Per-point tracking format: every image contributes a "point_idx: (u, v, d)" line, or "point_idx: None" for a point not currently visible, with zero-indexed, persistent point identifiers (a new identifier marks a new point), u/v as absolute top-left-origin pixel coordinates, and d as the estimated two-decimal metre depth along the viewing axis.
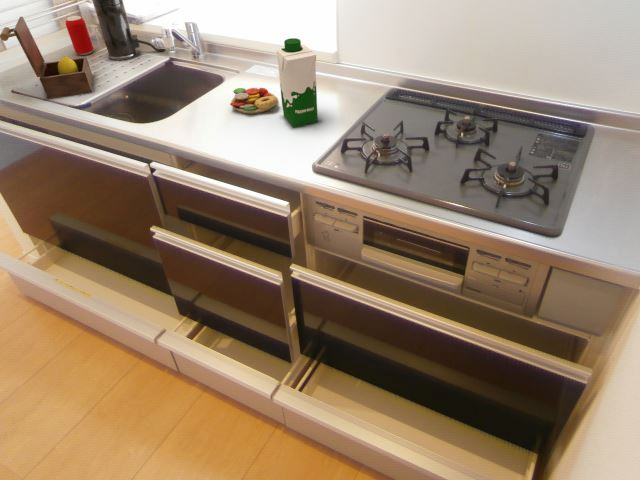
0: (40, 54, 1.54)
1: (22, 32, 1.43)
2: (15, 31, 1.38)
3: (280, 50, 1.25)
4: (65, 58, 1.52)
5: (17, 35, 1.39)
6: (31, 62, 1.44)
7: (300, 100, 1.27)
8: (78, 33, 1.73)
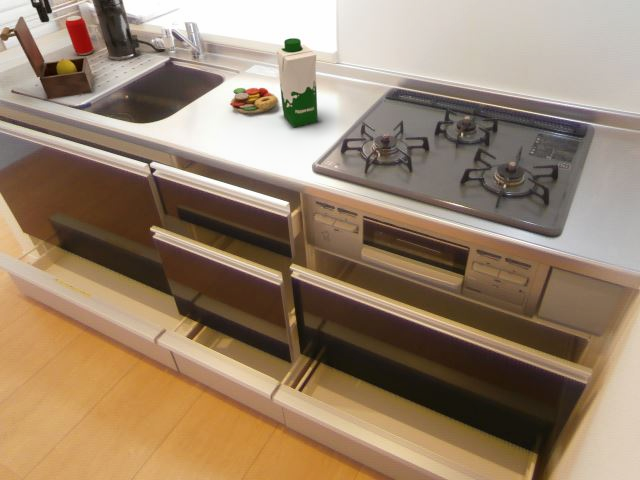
0: (40, 54, 1.54)
1: (22, 32, 1.43)
2: (15, 31, 1.38)
3: (280, 50, 1.25)
4: (63, 61, 1.51)
5: (17, 35, 1.39)
6: (31, 62, 1.44)
7: (300, 100, 1.27)
8: (78, 33, 1.73)
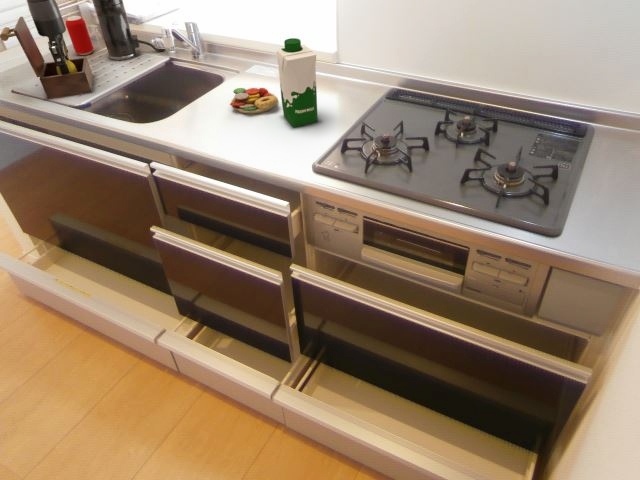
0: (40, 54, 1.54)
1: (22, 32, 1.43)
2: (15, 31, 1.38)
3: (280, 50, 1.25)
4: None
5: (17, 35, 1.39)
6: (31, 62, 1.44)
7: (300, 100, 1.27)
8: (78, 33, 1.73)
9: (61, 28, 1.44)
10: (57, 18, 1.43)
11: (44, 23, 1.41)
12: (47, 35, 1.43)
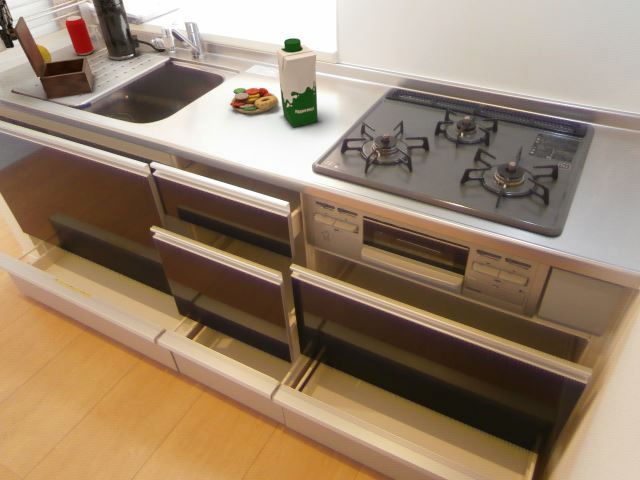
0: (40, 54, 1.54)
1: (22, 32, 1.43)
2: (15, 31, 1.38)
3: (280, 50, 1.25)
4: (37, 46, 1.64)
5: (17, 35, 1.39)
6: (31, 62, 1.44)
7: (300, 100, 1.27)
8: (78, 33, 1.73)
9: None
10: None
11: None
12: None
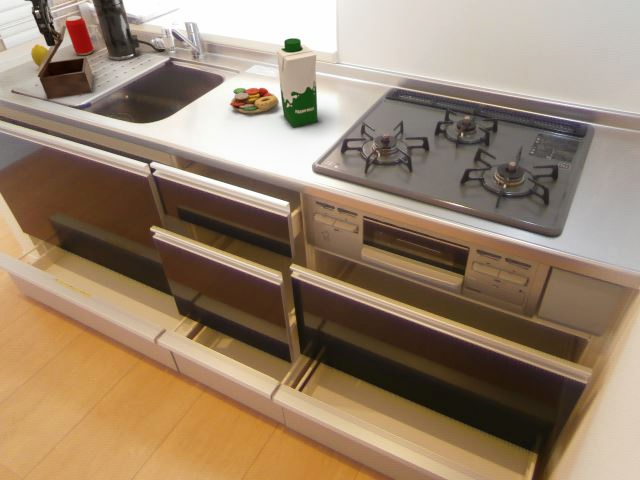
0: None
1: None
2: (61, 40, 1.43)
3: (280, 50, 1.25)
4: (37, 46, 1.64)
5: (59, 43, 1.43)
6: (46, 65, 1.45)
7: (300, 100, 1.27)
8: (78, 33, 1.73)
9: None
10: None
11: None
12: None
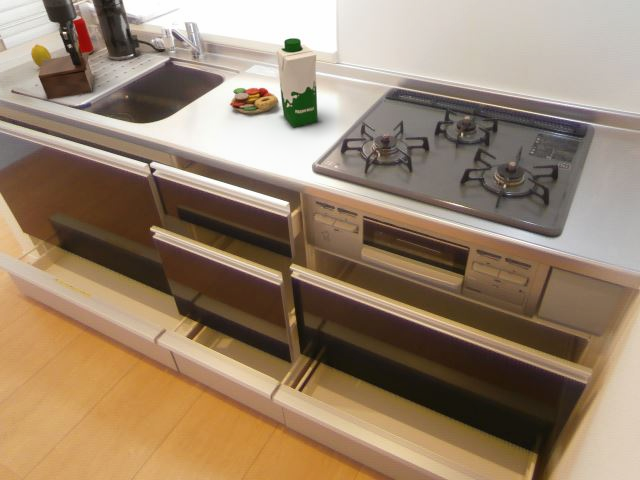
0: None
1: None
2: (85, 68, 1.49)
3: (280, 50, 1.25)
4: (37, 46, 1.64)
5: (81, 69, 1.49)
6: (54, 74, 1.47)
7: (300, 100, 1.27)
8: (78, 33, 1.73)
9: (72, 14, 1.43)
10: (68, 4, 1.41)
11: (55, 9, 1.40)
12: (58, 21, 1.42)
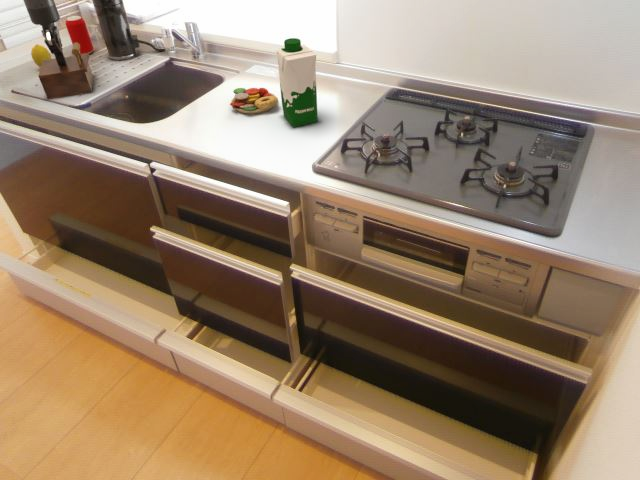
0: None
1: None
2: (86, 70, 1.49)
3: (280, 50, 1.25)
4: (37, 46, 1.64)
5: (82, 71, 1.49)
6: (54, 75, 1.48)
7: (300, 100, 1.27)
8: (78, 33, 1.73)
9: (55, 16, 1.42)
10: (51, 6, 1.40)
11: (37, 11, 1.39)
12: (40, 23, 1.41)
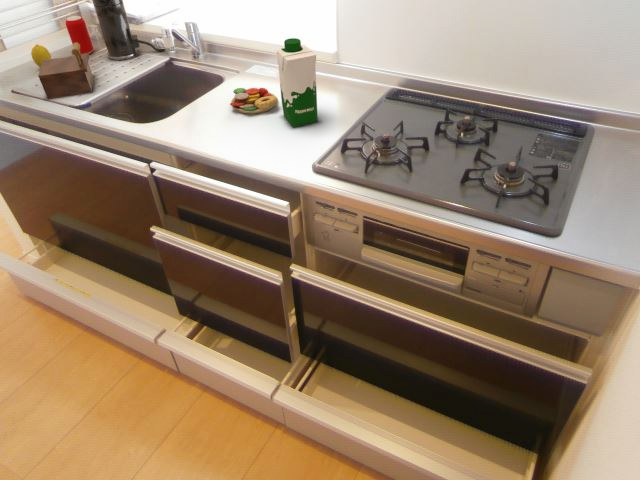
0: None
1: None
2: (86, 70, 1.49)
3: (280, 50, 1.25)
4: (37, 46, 1.64)
5: (82, 71, 1.49)
6: (54, 75, 1.48)
7: (300, 100, 1.27)
8: (78, 33, 1.73)
9: None
10: None
11: None
12: None
